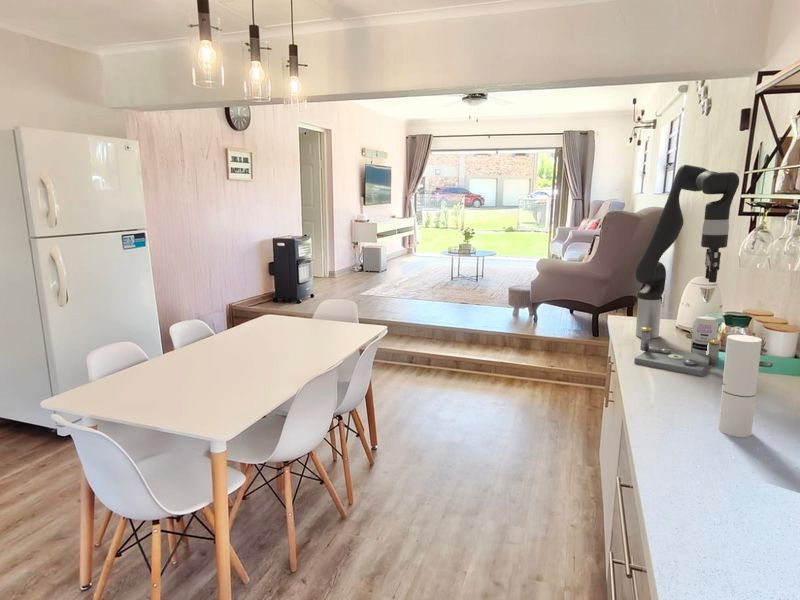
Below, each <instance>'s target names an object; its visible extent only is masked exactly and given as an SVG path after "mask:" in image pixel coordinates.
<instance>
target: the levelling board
mask: <svg viewBox="0 0 800 600" xmlns="http://www.w3.org/2000/svg"><path fill="white" fill-rule="evenodd" d="M651 348H657V349H660V348H661V347H659V346H651ZM669 349H670V350H671V354H662V353H659V352H657V351H643V352H642V353H641V354H639V355H638V356H636V357H634V361H633V363H634V364H636V363H638V364H637V365H641V364H642V366H645V367H653V368H658V369H662V370H668V371H673V372H677V373H682V372H683V373H684V374H687V373H688V375H694V376H698V377H702V376H703V375H705V373H706V372H708V370H710V369H711V368H712V367H711V366H710V365H701V364H696V365H695V366H688V365H685V364H683V360H684V359H691V360H695V361H705V362H708V355H702V354H696V353H691V351H690V352H688V351H684V350H678V349H672V348H669Z"/></svg>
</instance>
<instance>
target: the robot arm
mask: <svg viewBox="0 0 800 600" xmlns="http://www.w3.org/2000/svg"><path fill="white" fill-rule="evenodd" d="M739 185H740V177H739V175H738V174H737V173H736V172H732V171H731V172H730V171H728V172H727V171H726V172H717V171H712V170H711V171H710V170H709V169H706V168H704V167H701V166H695V165H690V164H682V165H680V166H679V168H678V170H677V171H676V174H675V176H674V179H673V182H672V185H671V188H670V191H669V194H668V197H667V200H666V203H665V205H664V207H663V209H662V212H661V214H660V217H659V218H658V220H657V223H656V225H655V228H654V231H653V233H652V236H651V238H650V241H649V243H648V245H647V247H646V250H645V251H644V253H643V255H642V257H641V258H640V261H639V263H638V264H637V266H636V269H635V279H636V280H637V282H639V283H640V284H642V285H643V284H644V285H645V286H643V287H642V289H640V290H639V291H638V295H637V310H636V323H635V324H636V326H635V336H636V337H638V338H641V331H642V330H641V327H649V328H651V331H650V339H658V338H659V337H660V326H661V325H660V323H661V313H662V312H661V308H662V296H663V294H664V292H665V286H666V280H667V279H666V278H667V270H666V266H665V265H664V264H663V263H662V262H660V259H661V257H662V256H663V255H664V254H665V252H666V251H667V250H668V249H669V248H670V247H672V245H673V244H674V243H675V241H676V240H677V239H678V237H679V235H680V233H681V231H682V229H683V226H684V217H683V213H682V209H681V204H680V196H681V191H682V190H684V191H691V192H702V193H703V194H704V195H722V197H721V198H720V199H719V200H714V201H710V202H708V203H706V205H705V209H704V219H703V224H702V231H701V232H702V233H701V243H700V247H702V248H706V249H705V250H706V252H705V263H704V264H705V276H704V278H705V279H707V280H708V282H709V283H717V279H718V272H719V270H720V264H721V256H722V252H721V251H719V249H721V248H722V249H724V248H727V247H728V242H729V241H728V239H729V230H730V210H731V205H732V202H733V199H734V197H735V195H736V192H737V190H738V188H739Z"/></svg>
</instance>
